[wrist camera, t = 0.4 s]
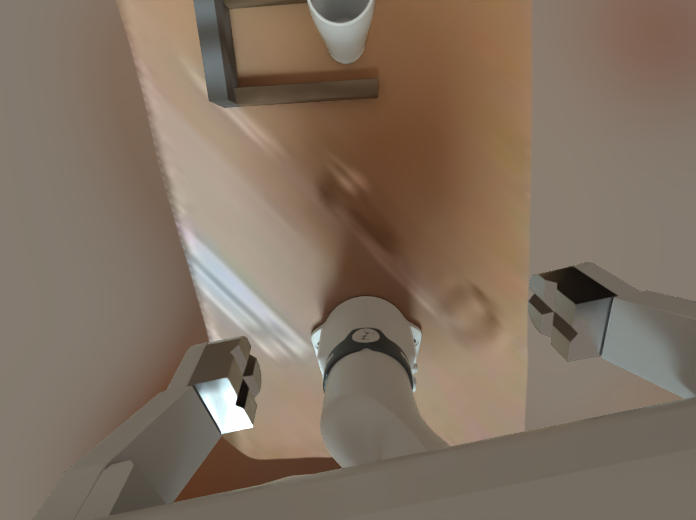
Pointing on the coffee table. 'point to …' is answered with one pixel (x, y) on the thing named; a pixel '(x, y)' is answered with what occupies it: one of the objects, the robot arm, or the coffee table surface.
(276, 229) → the coffee table surface
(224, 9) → the guide track
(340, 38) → the drinking glass
